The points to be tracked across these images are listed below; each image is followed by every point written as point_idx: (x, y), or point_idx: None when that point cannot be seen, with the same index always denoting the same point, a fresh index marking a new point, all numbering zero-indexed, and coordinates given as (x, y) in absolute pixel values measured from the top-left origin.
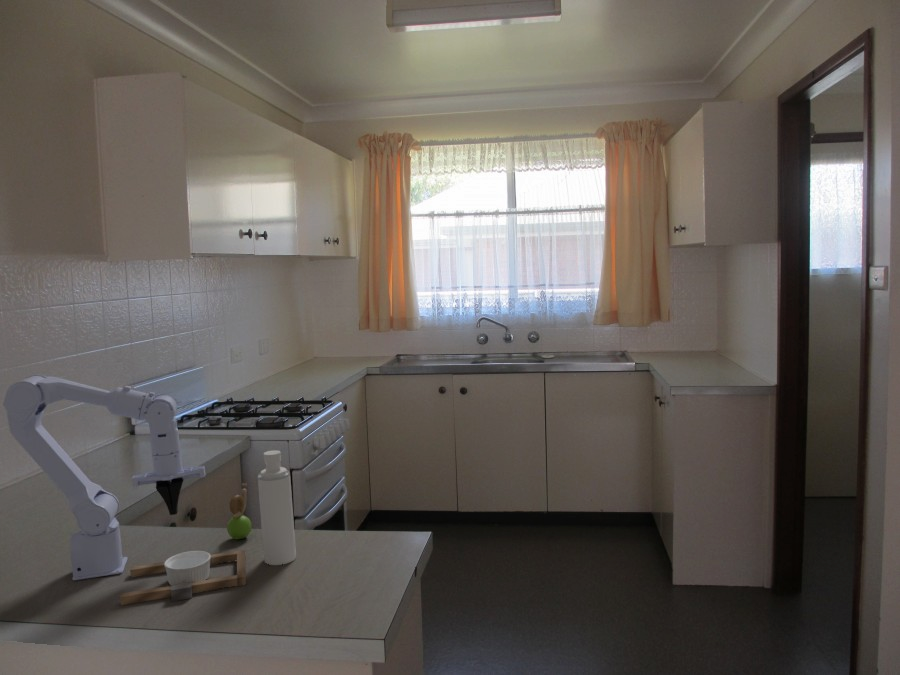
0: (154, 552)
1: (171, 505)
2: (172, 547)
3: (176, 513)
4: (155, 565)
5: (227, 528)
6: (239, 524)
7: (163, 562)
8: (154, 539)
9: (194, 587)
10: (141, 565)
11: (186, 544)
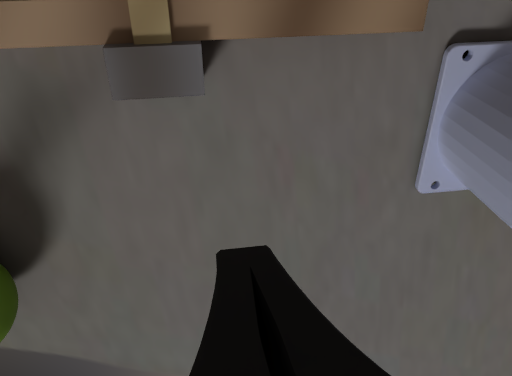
0: (318, 222)
1: (263, 301)
2: None
3: (218, 254)
4: (311, 2)
5: (5, 296)
6: None
7: (273, 32)
8: None
9: None
10: (377, 32)
11: (204, 261)
